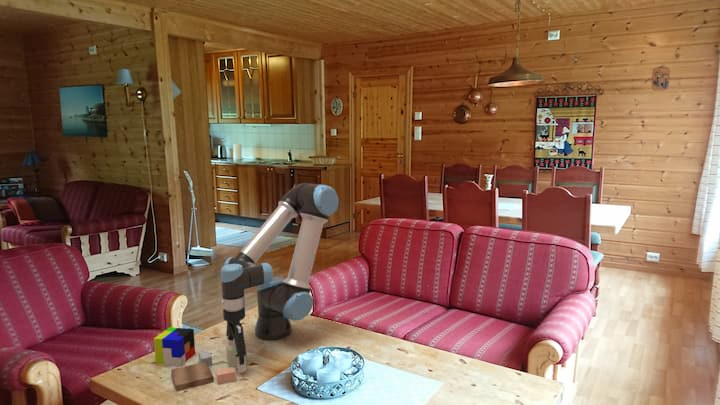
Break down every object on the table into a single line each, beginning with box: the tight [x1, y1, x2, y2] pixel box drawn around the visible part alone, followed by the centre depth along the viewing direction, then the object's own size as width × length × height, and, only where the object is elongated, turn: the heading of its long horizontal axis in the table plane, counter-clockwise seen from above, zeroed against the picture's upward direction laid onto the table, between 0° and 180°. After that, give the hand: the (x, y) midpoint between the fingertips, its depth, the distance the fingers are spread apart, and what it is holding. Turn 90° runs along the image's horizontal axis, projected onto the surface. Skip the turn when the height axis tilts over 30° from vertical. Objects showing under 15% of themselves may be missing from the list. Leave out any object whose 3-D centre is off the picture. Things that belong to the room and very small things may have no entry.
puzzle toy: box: [153, 326, 196, 367], centre depth 179 cm, size 10×10×10 cm
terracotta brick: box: [215, 367, 237, 385], centre depth 164 cm, size 6×4×4 cm, turn 113°
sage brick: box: [226, 344, 248, 369], centre depth 174 cm, size 6×4×7 cm, turn 118°
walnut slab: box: [170, 361, 214, 392], centre depth 165 cm, size 12×12×2 cm
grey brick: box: [197, 349, 213, 367], centre depth 176 cm, size 6×4×4 cm, turn 30°
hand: (237, 364), depth 175 cm, fingers open, 12 cm apart
